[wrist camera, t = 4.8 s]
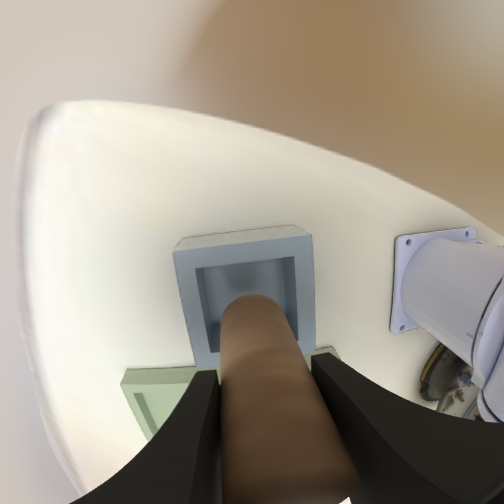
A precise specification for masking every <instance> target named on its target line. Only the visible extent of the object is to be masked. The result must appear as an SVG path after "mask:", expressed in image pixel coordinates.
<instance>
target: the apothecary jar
mask: <svg viewBox="0 0 504 504" xmlns="http://www.w3.org/2000/svg"><path fill="white" fill-rule="evenodd" d="M473 371H474V369H473V368H472V367H471V366H470V365H469V364H467V363H466V362H465V361H464V360H463V359H461V358H460V357H459V356H458V355H456V354H455V353H454V352H453V351H451V350H450V349H449V348H448V347H446V346H445V345H444V344H443V343H442V344H441V345H440V346H439V347H438V348H437V350H436V351H435V352H434V354H433V355H432V357H431V358H430V360H429V361H428V363H427V365H426V367H425V369H424V371H423V374H422V376H421V380H420V381H421V382H422V385H423V387H422V389H421V391H420V395H421V397H422V398H423V399H425V400H427V401H436V400H439V403H438V406H437V409H436V411H438V412H441V413H445V414H449V415H452V416H456V417H461V418H466V419H471V420H478V421H484V419H483V418H482V416H481V414H480V412H479V409H478V404H477V397H478V393H479V391H480V388H479V387H478V386H477V385H475V384H474V383H473V382H472V381H471V378H472V375H473Z"/></svg>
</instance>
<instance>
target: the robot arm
mask: <svg viewBox="0 0 504 504" xmlns="http://www.w3.org/2000/svg"><path fill="white" fill-rule="evenodd" d="M465 234H466V235H465ZM407 240H408V244H407V245H406V241H407ZM401 326H402V327H401ZM400 327H401V328H400ZM419 327H422V328H424V329H425V330H426V331H428V332H429V333H430V334H431V335H433V336H434V337H435V338H436V339H438V340H439V341H440V342H441V343H443V344H444V345H445V346H446V347H448V348H449V349H450V350H451V351H453V352H454V353H455V354H456V355H458V356H459V357H460V358H461V359H463V360H464V361H465V362H466V363H467V364H469V365H470V366H471V367H472V368H473V369H474V371H473V375H472V378H471V381H472V382H473V383H474V384H475V385H477V386H478V387H479V388H480V391H479V393H478V397H477V404H478V409H479V412H480V414H481V416H482V418H483V419H484V421H478V420H471V419H466V418H461V417H456V416H452V415H449V414H445V413H441V412H438V411H435V410H432V409H429V408H426V407H423V406H421V405H418V404H416V403H413V402H411V401H409V400H406V399H404V398H402V397H400V396H398V395H396V394H394V393H392V392H390V391H388V390H386V389H385V388H383V387H381V386H379V385H378V384H376V383H374V382H373V381H371V380H369V379H368V378H366V377H365V376H363V375H361V374H360V373H358V372H357V371H355V370H354V369H353V368H351V367H350V366H348V365H347V364H345V363H344V362H343V361H341V360H340V359H338V358H337V357H335V356H334V355H333V354H331V353H330V352H326V353H321V354H316V355H311V373H312V375H313V377H314V380H315V382H316V384H317V386H318V388H319V390H320V392H321V395H322V397H323V399H324V401H325V403H326V405H327V408H328V410H329V412H330V414H331V416H332V418H333V421H334V423H335V425H336V427H337V429H338V432H339V434H340V436H341V438H342V440H343V442H344V445H345V447H346V449H347V451H348V453H349V455H350V458H351V460H352V462H353V464H354V466H355V469H356V471H357V473H358V475H359V477H360V482H359V485H358V487H357V488H356V490H355V491H354V492H353V493H352V494H351V495H350V496H349V498H350V501H351V504H504V247H501V246H498V245H495V244H491V243H488V242H484V241H481V240H478V239H476V229H475V228H474V227H466V228H458V229H450V230H442V231H434V232H426V233H419V234H411V235H403V236H399V237H398V238H397V240H396V252H395V279H394V294H393V307H392V317H391V326H390V331H391V333H393V334H394V335H395V334H399V333H403V332H406V331H409V330H412V329H416V328H419ZM70 504H222V483H221V445H220V384H219V379H218V375H217V370H216V369H215V370H203V371H197V372H196V373H195V374H194V376H193V378H192V380H191V382H190V384H189V385H188V387H187V389H186V390H185V392H184V394H183V395H182V397H181V399H180V400H179V402H178V403H177V405H176V406H175V408H174V409H173V411H172V412H171V414H170V415H169V417H168V418H167V420H166V421H165V422H164V423H163V425H162V426H161V427H160V429H159V430H158V431H157V433H156V434H155V435H154V436H153V437H152V439H151V440H150V441H149V442H148V443H147V444H146V445H145V447H144V448H143V449H142V450H141V451H140V452H139V453H138V454H137V455H136V456H135V457H134V458H133V459H132V460H131V461H130V462H129V463H127V464H126V465H125V466H124V467H123V468H122V469H121V470H120V471H118V472H117V473H116V474H115V475H114V476H112V477H111V478H110V479H108V480H107V481H106V482H104V483H103V484H101V485H100V486H98V487H97V488H95V489H94V490H92V491H91V492H89V493H88V494H86V495H84V496H83V497H81V498H79V499H77V500H76V501H74V502H72V503H70Z"/></svg>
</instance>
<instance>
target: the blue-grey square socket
mask: <svg viewBox="0 0 504 504" xmlns="http://www.w3.org/2000/svg"><path fill="white" fill-rule="evenodd" d="M172 253H173V259H174V264H175V270H176V276H177V281H178V286H179V292H180V297H181V302H182V307H183V311H184V316H185V321H186V325H187V330H188V334H189V339H190V343H191V347H192V351H193V356H194V360H195V364H196V368H209V367H219V366H220V330H221V317H222V314H223V312H224V310H225V309H226V307H227V306H228V305H229V304H230V303H231V302H233V301H234V300H236V299H237V298H239V297H242V296H245V295H250V294H259V295H264V296H267V297H269V298H271V299H273V300H274V301H275V302H277V303H278V305H279V306H280V307H281V309H282V311H283V313H284V315H285V317H286V319H287V321H288V323H289V326H290V328H291V330H292V332H293V334H294V336H295V339H296V341H297V343H298V345H299V347H300V349H301V351H302V354H309V353H314V352H315V290H314V265H313V245H312V234H310V233H308V232H306V231H305V230H303V229H301V228H299V227H297V226H295V225H288V226H279V227H270V228H261V229H253V230H244V231H236V232H228V233H220V234H211V235H204V236H196V237H188V238H183V239H182V240H181V241H180V243H179V244H178V245H177V246H176V247H175V249H174V250H173V251H172Z"/></svg>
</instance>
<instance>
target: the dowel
mask: <svg viewBox="0 0 504 504" xmlns="http://www.w3.org/2000/svg"><path fill="white" fill-rule="evenodd" d="M220 445H221V483H222V504H339V503H341V502H342V501H344V500H345V499H346V498H348V497H349V496H350V495H351V494H352V493H353V492H354V491H355V490H356V488H357V487H358V485H359V482H360V477H359V475H358V473H357V471H356V469H355V466H354V464H353V462H352V460H351V458H350V455H349V453H348V451H347V449H346V447H345V445H344V442H343V440H342V438H341V436H340V434H339V432H338V429H337V427H336V425H335V423H334V421H333V418H332V416H331V414H330V412H329V410H328V408H327V405H326V403H325V401H324V399H323V397H322V395H321V392H320V390H319V388H318V386H317V384H316V382H315V380H314V377H313V375H312V373H311V371H310V369H309V367H308V364H307V362H306V360H305V358H304V356H303V354H302V351H301V349H300V347H299V345H298V343H297V341H296V339H295V336H294V334H293V332H292V330H291V328H290V326H289V323H288V321H287V319H286V317H285V315H284V313H283V311H282V309H281V307H280V306H279V305H278V303H277V302H275V301H274V300H273V299H271V298H269V297H267V296H264V295H259V294H250V295H245V296H242V297H239V298H237V299H236V300H234V301H233V302H231V303H230V304H229V305H228V306H227V307H226V309H225V310H224V312H223V314H222V317H221V330H220Z"/></svg>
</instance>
